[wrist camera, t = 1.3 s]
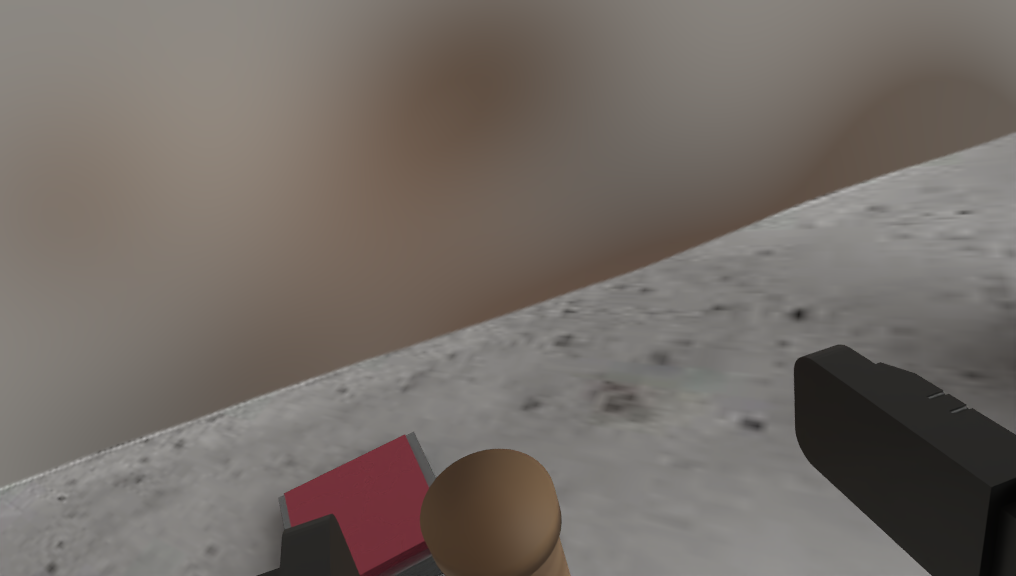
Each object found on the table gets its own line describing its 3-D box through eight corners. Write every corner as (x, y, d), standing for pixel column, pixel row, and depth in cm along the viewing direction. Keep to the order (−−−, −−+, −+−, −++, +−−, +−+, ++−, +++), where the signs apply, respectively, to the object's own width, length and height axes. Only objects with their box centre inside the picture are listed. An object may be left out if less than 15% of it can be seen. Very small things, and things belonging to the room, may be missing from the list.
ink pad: (421, 449, 39) (410, 424, 38) (471, 557, 33) (460, 531, 32) (290, 515, 38) (273, 491, 36) (316, 641, 31) (298, 618, 30)
